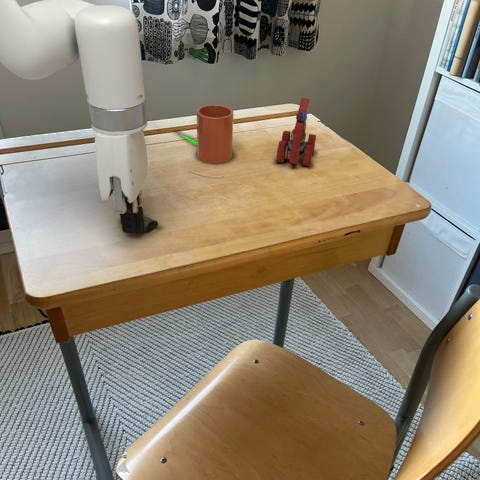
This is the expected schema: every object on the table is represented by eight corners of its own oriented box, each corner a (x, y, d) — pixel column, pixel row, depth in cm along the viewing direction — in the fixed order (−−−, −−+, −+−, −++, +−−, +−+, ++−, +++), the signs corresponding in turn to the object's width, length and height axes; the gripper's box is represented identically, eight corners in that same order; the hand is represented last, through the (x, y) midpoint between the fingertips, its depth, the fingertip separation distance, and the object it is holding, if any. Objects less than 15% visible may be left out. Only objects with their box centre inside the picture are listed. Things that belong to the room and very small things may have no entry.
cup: (195, 162, 102) (194, 116, 96) (200, 147, 107) (199, 103, 101) (229, 164, 102) (231, 119, 96) (233, 149, 107) (234, 106, 101)
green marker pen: (179, 134, 113) (179, 130, 112) (218, 157, 105) (218, 153, 105) (175, 135, 112) (175, 131, 112) (214, 158, 105) (214, 155, 104)
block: (146, 235, 82) (145, 226, 81) (118, 223, 85) (117, 213, 83) (160, 225, 85) (159, 216, 83) (133, 214, 87) (132, 204, 86)
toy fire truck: (273, 169, 101) (278, 116, 94) (283, 143, 110) (288, 93, 103) (308, 173, 101) (316, 121, 93) (315, 147, 110) (322, 97, 102)
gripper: (107, 93, 75) (123, 205, 87) (71, 134, 64) (96, 255, 76) (158, 96, 74) (166, 208, 86) (131, 138, 63) (145, 260, 75)
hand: (133, 230), depth 81 cm, fingers closed
